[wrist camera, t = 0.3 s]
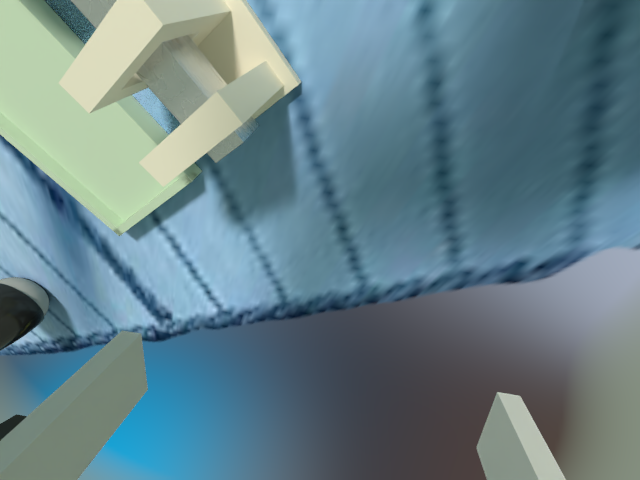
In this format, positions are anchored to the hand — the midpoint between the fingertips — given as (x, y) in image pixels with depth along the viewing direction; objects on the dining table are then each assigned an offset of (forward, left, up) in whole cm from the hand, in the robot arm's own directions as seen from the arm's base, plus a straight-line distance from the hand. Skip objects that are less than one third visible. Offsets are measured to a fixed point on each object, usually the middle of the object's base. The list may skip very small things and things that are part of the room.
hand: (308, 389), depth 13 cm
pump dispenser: (+66, -8, -27) cm, 72 cm away
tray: (+26, -22, -27) cm, 44 cm away
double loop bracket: (+8, -13, -27) cm, 31 cm away
